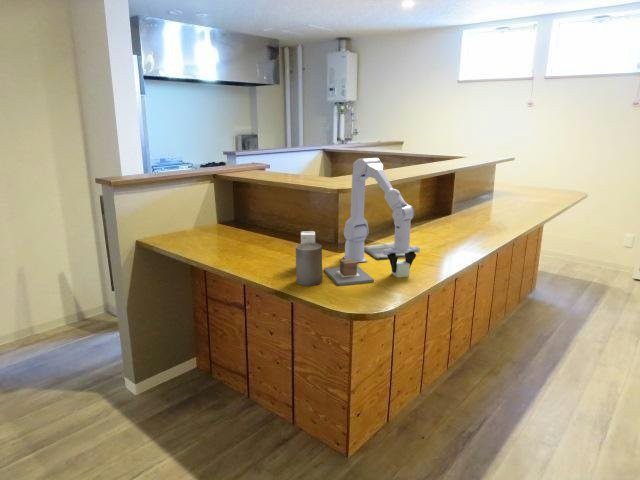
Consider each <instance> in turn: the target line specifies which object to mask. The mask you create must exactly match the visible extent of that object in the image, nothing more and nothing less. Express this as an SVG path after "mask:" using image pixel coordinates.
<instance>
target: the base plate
mask: <svg viewBox="0 0 640 480" xmlns="http://www.w3.org/2000/svg"><path fill="white" fill-rule="evenodd" d="M323 271H324V272H325V274H327V276H329V278H330V279H331V280H332V281H333V282H334V283H335V285H336V286H346V285H347V286H349V285H357V284H369V283H374V282H375V279H374V278H373V277H372V276H370V275H369V274H368V273H367V272H366V271H364V270H363V269H362V268H361V267H360V266H359V265H357V275H351V276H344V275H343V274H341V273H340V266H333V267H324V268H323Z"/></svg>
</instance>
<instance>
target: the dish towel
mask: <svg viewBox="0 0 640 480" xmlns="http://www.w3.org/2000/svg"><path fill="white" fill-rule="evenodd" d="M393 247H394V242H393V241H392V242H388V243H380V244H372V245H366V246H365V245H364V253H365V252H366V253H367V254H368V255H370V256H371V257H372V258H373V259H375V260H376V261H383V260H385V261H386V260H389V258H388V256H387V255H384V254H383V249H388V248H393ZM395 255H396V256H397V257H398V259H399V260H400V259H401V260H402V259H405V253H401V254H395ZM398 259H397V260H398Z"/></svg>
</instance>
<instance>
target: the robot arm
mask: <svg viewBox="0 0 640 480" xmlns="http://www.w3.org/2000/svg"><path fill="white" fill-rule="evenodd" d="M352 166H353V167H352V168H353V169H352V170H353V171H352V175H351V195H350V196H351V197H350V202H351V203H350V217H349V218H348V219H347V220H346V221H345V223H344V224H345V225H344V229H343V236H344V238H345V240H346V241H345V242H344V243H345V244H344V255H342V258H343V259H353V260H355V261H356V262H357V263H366V262H368V259H366V258H365V251H364V247H365V240H366V239H367V237H368V235H369V233H370V231H369V230H370V229H369V225H368V223H369V222H368V220H366V218H365V217H364V216H365V197H366V196H365V195H366V193H365V192H366V181H367V179H369V178H372V179H374V180H375V182H376V183H377V184H378V185H379V187H380V189H382V191H383V192H384V200H385V201H386V203H387V204H388V206H389V207H390V209H391V210H392V213H391V216H392V219H393V222H394V223H393V224H394V239H393V240H394V242H393V243H394V247H393V248H388V249H383V254H384V255H387V256H388V258H389V259H388V260H389V263H390V266H391V268H390V269H391V273H392V272H394V273H396V264H397V261H398V257H397V256H396V255H395V254H401V253H405V258H404V261H406V262H408V263H409V264H410V268H411V267H412V264H413V262H414V260H415V259H416V258H417V257H416V256H417V253H418V254H419V253H421V247H419V246H410V243H411V225H412V223H411V221H412V219H414V216H415V209H414V207H413V206H412V205H410V204H408V202H406V201H405V199H404V198H403V196H402V194H401V192H400V190H398V189H396V188H394V187H393V186H392V184H391V182H390V180H389V178H388V176H387V175H386V173H385V171H384V164H383V163H382V161H381V160H380V158H379V157H368V158H361V157H360V158H357V159H356V160H355V161H354V162H353V164H352Z"/></svg>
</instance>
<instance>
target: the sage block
mask: <svg viewBox="0 0 640 480" xmlns="http://www.w3.org/2000/svg"><path fill="white" fill-rule="evenodd" d="M410 269H411V267H410V264H409V263H408V262H406V261H405V259H404V260H402V259H401V260H397V264H396V273H394V272H392V271H391V274H392V275H393V276H394V277H396V278H406V277H407V278H408V277H410V271H411V270H410Z"/></svg>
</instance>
